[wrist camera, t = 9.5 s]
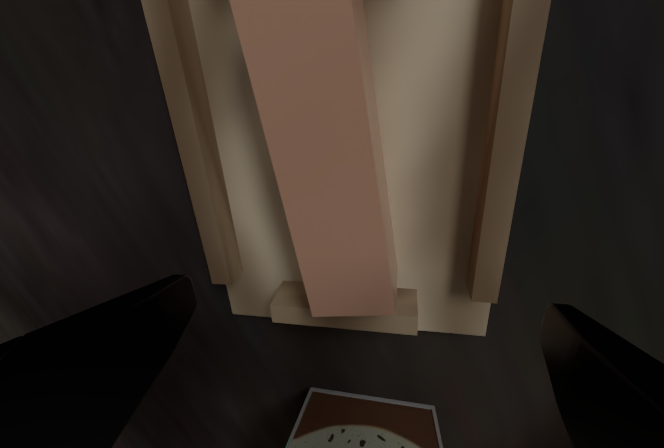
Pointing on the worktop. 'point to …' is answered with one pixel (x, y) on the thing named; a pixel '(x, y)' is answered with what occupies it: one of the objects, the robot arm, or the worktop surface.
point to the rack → (397, 143)
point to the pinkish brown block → (324, 147)
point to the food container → (363, 422)
